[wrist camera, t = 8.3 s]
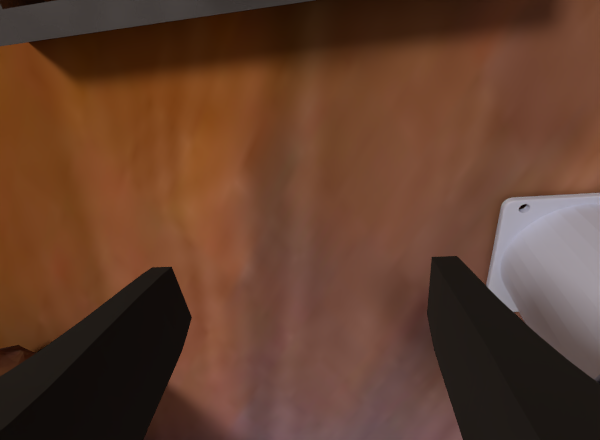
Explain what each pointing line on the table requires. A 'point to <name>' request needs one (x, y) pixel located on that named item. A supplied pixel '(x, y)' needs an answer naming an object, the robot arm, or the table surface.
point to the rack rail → (105, 15)
